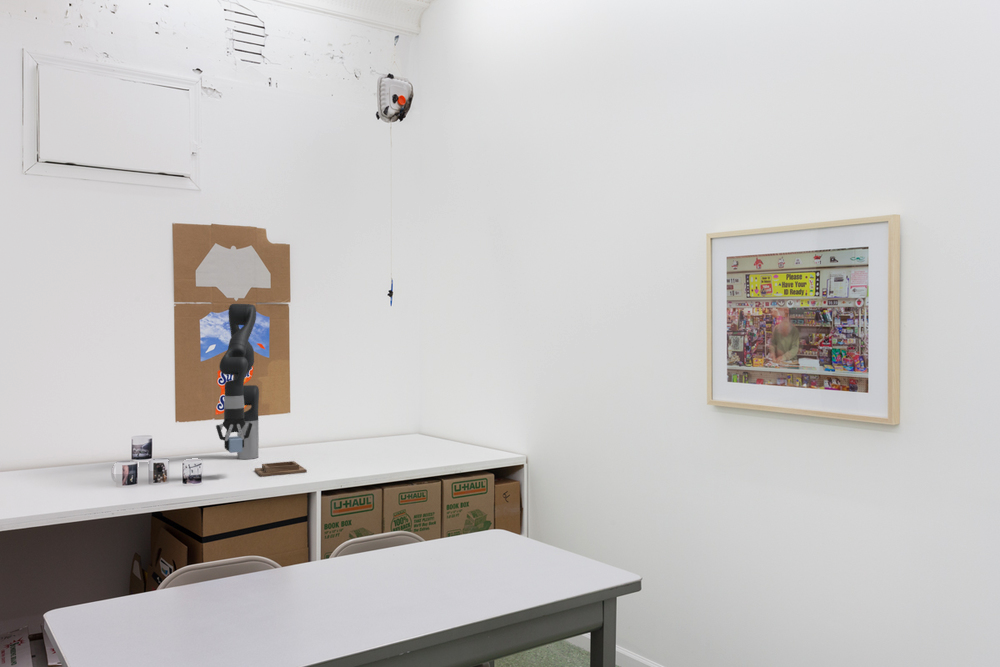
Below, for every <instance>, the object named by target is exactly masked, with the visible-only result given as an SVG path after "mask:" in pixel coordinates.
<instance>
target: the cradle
mask: <svg viewBox="0 0 1000 667" xmlns="http://www.w3.org/2000/svg"><path fill="white" fill-rule="evenodd" d="M254 472H256V473H257V475H258V476H259V477H261V478H262V477H272V476H273V477H274V476H281V475H282V476H284V475H292V474H293V475H294V474H304V473H307V469H306V468H304V467H303V466H302V465H300V464H299V463H297V462H296V461H294V460H289V461H282V462H281V461H279V462H270V463H267V462H266V463H261V467H256V468H254Z"/></svg>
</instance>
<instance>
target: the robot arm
mask: <svg viewBox="0 0 1000 667" xmlns="http://www.w3.org/2000/svg"><path fill="white" fill-rule="evenodd" d="M256 320H257V308H256V306H255V305H254V304H252V303H251V304H250V303H231V304H230V305H229V307H228V323H229V330H230V331H229V332H230V338H229V342H228V347H227V350H226V352H225V353H224V355H222V358H221V359H220V362H219V366H218V367H219V371H220V373H222V374H223V375H227V376H230V375H233V379H231V380H227V381H226V382H225V383H224V399H223V422H222V423H219V424H216V425H215V429H216V431H217V435H218V437H219V440H221V441H224V444H223V445H224V449H225V450H226V451H228V450H229V441H228V439H229V437H231V434H232V433H236V436H239V437H240V438H241V439H242V452H236V456H237V457H236V458H237V459H239V460H252V459H256V458H259V447H260V446H259V402H260V401H259V400H260V389H259V386H258V385H255V384H253V385H251V384H250V385H249V384H248V385H247V384H246V385H244V384H245V380H246V379H245V378H246V375H247V374H249V372H250V371H251V369H252V368H253V366H254V364H255V350H254V347H253V345H252V344H251V343H250V341H249V339H250V336H251V334H252V333H253V332H252V331H253V329H254V326H255V323H256ZM240 326H242V327H241V328H240ZM245 406H250V408H249V409H248V410H246V411H245ZM223 427H224V428H225V429H226V431H225V435H223V433H222V430H223Z"/></svg>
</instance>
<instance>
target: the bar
mask: <svg viewBox="0 0 1000 667" xmlns="http://www.w3.org/2000/svg"><path fill="white" fill-rule="evenodd" d="M228 441H229V450H227V451H228V452H229V454H232V453H237V452H242V439H241V438H240V437H239V436H237V435H235V436H234V435H233V436H229V439H228Z"/></svg>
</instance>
